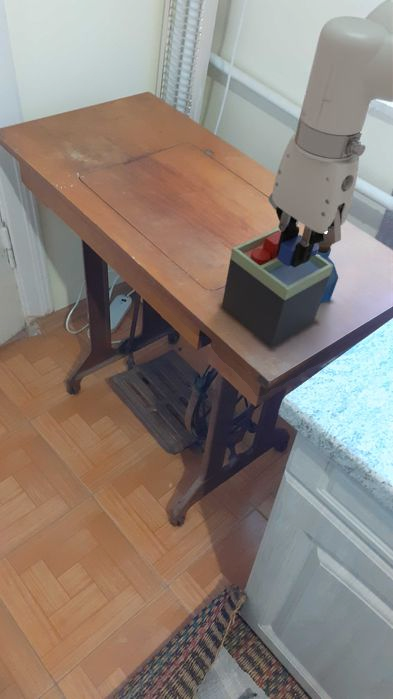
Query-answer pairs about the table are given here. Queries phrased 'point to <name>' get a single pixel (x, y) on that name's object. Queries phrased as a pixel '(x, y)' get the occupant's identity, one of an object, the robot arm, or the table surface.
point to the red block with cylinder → (266, 250)
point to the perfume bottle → (324, 253)
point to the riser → (269, 306)
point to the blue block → (292, 250)
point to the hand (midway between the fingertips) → (292, 257)
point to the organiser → (281, 269)
